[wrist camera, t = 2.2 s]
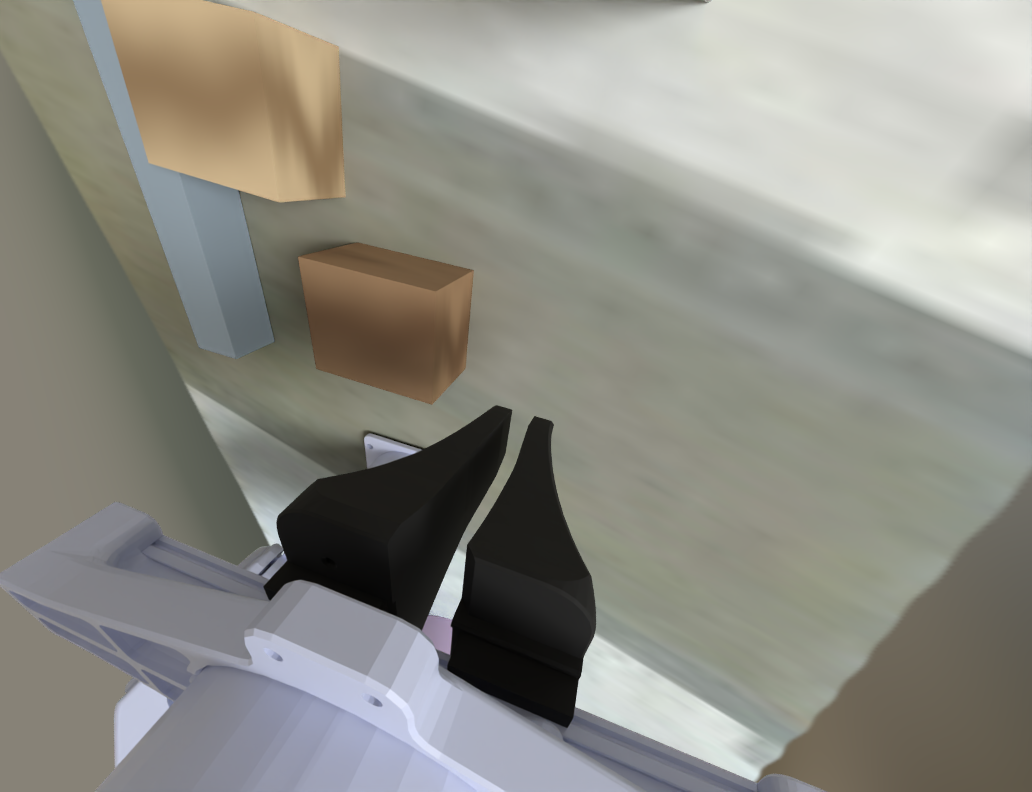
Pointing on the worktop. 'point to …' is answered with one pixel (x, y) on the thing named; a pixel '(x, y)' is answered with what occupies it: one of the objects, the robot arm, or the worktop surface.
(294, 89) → the oak block
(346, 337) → the walnut block
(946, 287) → the worktop surface
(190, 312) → the batten
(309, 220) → the worktop surface
